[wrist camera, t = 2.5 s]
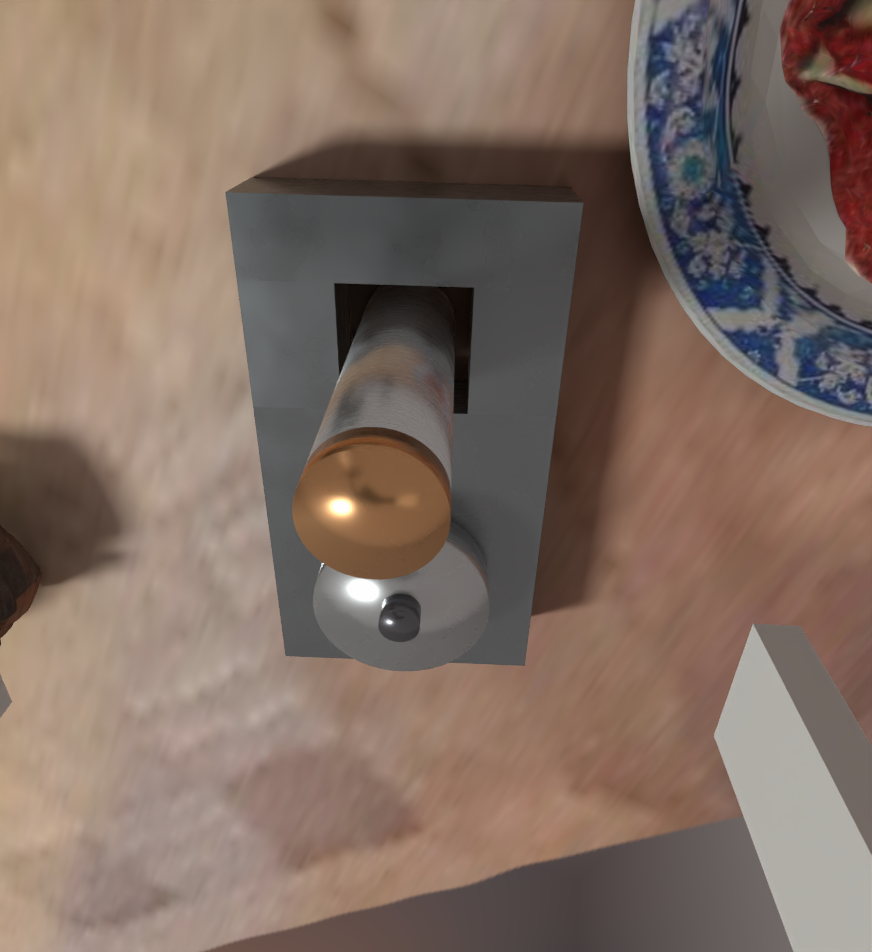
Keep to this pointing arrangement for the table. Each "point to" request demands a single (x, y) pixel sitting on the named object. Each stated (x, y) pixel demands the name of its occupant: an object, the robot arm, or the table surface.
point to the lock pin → (385, 442)
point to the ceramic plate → (762, 184)
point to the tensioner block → (475, 401)
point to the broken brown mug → (15, 581)
